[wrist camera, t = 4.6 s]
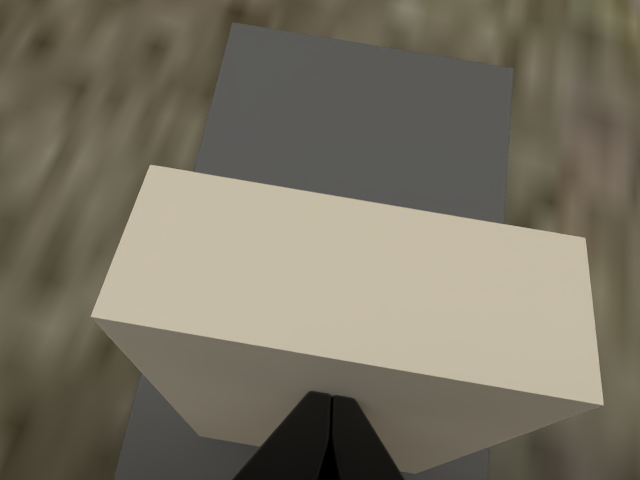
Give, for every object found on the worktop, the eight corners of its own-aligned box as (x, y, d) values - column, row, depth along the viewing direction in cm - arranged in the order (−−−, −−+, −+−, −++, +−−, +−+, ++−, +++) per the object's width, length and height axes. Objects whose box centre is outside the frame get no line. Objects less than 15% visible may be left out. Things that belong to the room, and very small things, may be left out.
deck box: (414, 474, 17) (604, 405, 7) (199, 436, 17) (90, 316, 7) (420, 391, 18) (584, 237, 8) (219, 357, 18) (150, 164, 8)
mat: (474, 613, 16) (478, 619, 16) (99, 547, 16) (94, 550, 16) (509, 74, 22) (513, 68, 22) (233, 28, 22) (232, 22, 22)
